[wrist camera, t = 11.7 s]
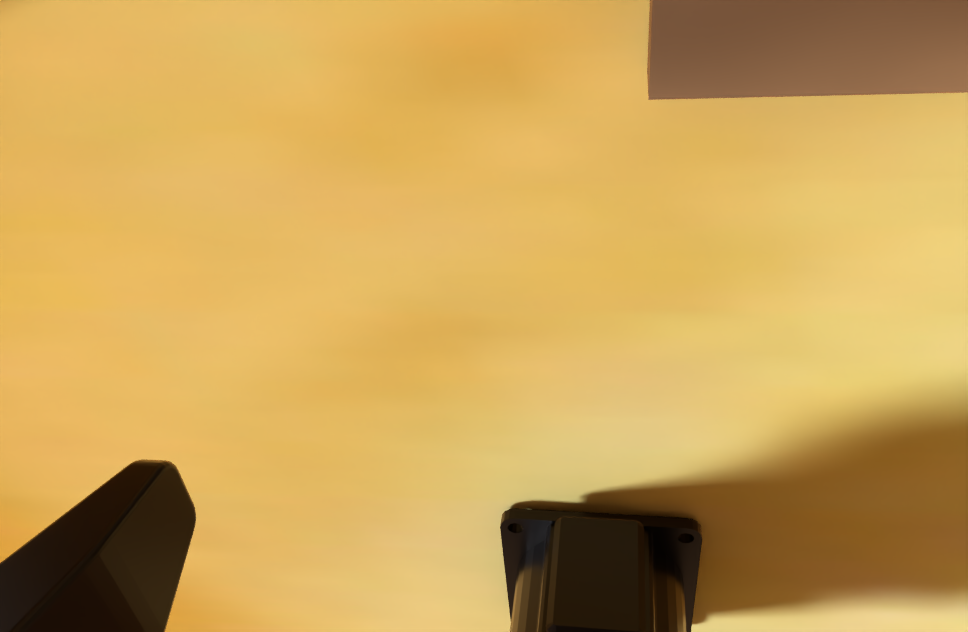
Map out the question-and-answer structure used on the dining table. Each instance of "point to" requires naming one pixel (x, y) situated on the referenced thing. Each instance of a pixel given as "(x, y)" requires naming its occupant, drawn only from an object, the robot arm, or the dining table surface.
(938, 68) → the cleat board
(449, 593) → the dining table surface
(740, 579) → the dining table surface
